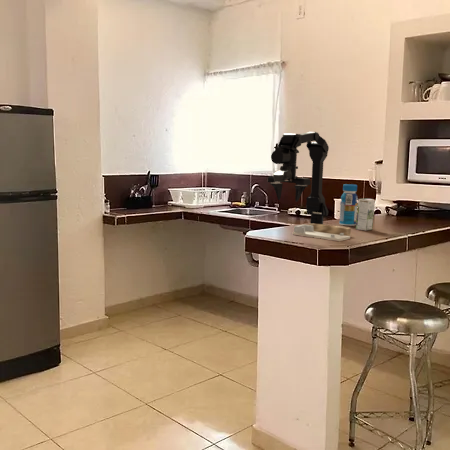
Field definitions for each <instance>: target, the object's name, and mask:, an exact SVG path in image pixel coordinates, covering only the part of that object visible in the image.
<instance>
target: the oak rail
mask: <svg viewBox="0 0 450 450" xmlns="http://www.w3.org/2000/svg"><path fill="white" fill-rule="evenodd" d="M308 225H311V226H314V231H316V232H323V233H330V234H337V235H340V233H344V236H350V237H351V231H352V227H349V226H346V227H345V226H341V225H340V226H339V225H329V224H324V223H323V224H315V223H312V224H310V223H309V224H308Z"/></svg>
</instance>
